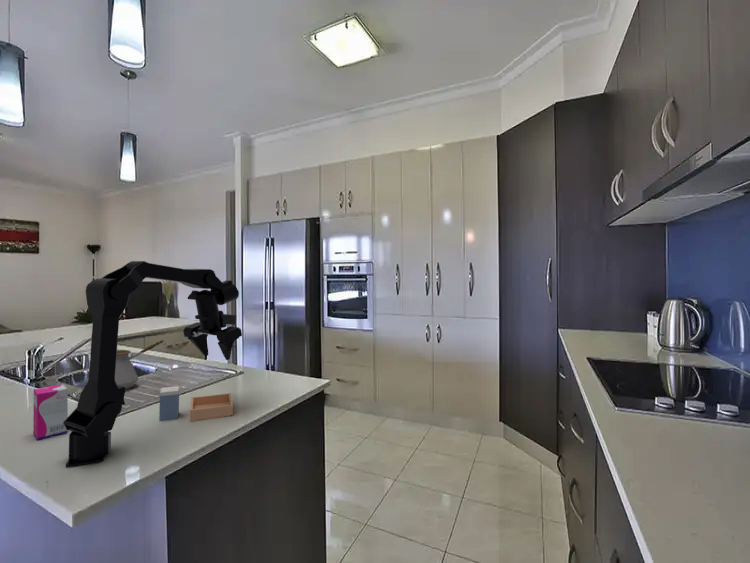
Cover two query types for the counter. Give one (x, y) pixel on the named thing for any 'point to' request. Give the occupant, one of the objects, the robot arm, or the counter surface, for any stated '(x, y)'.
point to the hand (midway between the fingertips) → (217, 357)
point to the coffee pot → (127, 367)
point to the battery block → (169, 403)
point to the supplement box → (50, 411)
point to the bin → (211, 407)
